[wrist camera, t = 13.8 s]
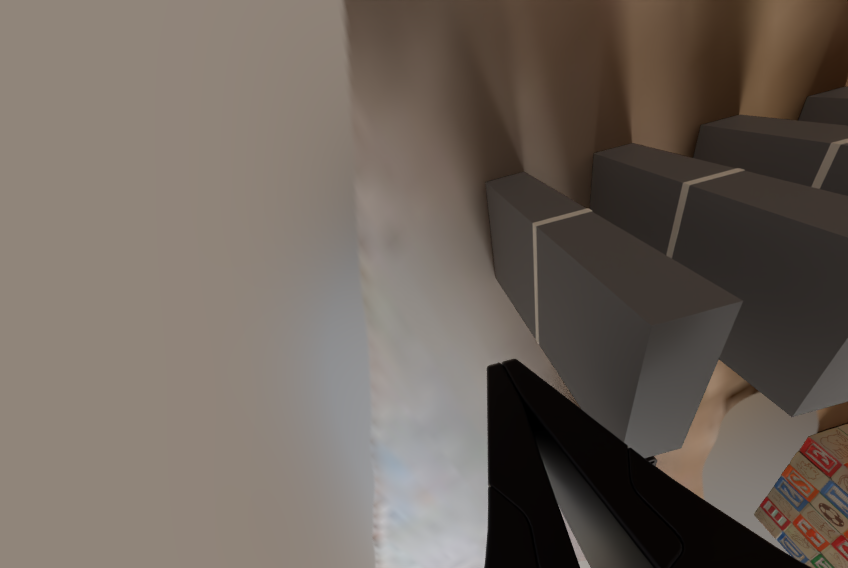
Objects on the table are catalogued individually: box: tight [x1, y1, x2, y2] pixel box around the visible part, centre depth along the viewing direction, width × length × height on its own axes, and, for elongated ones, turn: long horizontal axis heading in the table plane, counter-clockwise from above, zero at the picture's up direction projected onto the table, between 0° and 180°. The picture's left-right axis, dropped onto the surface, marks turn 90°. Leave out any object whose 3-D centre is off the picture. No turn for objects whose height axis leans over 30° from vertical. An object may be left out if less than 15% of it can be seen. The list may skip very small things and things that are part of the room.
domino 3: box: [590, 143, 848, 417], centre depth 12 cm, size 5×2×10 cm, turn 12°
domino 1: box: [485, 172, 743, 458], centre depth 12 cm, size 5×2×10 cm, turn 12°
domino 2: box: [693, 115, 848, 196], centre depth 12 cm, size 5×2×10 cm, turn 12°
